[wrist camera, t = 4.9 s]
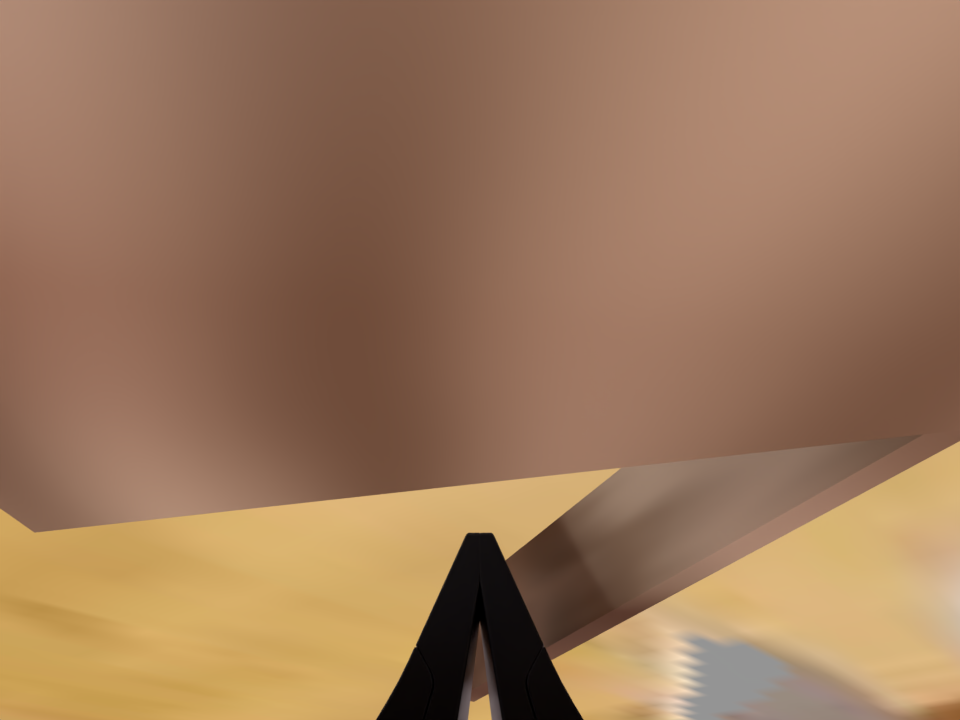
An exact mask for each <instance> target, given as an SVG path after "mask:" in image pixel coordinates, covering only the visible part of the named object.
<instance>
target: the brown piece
mask: <svg viewBox="0 0 960 720" xmlns="http://www.w3.org/2000/svg"><path fill="white" fill-rule="evenodd" d="M959 430H960V0H0V509H2V510H3V511H4V512H6V513H7V514H9V515H10V516H12V517H13V518H14V519H16V520H17V521H19V522H20V523H21V524H23V525H24V526H26V527H27V528H29V529H30V530H31V531H33V532H34V533H36V532H45V531H54V530H63V529H72V528H81V527H90V526H100V525H109V524H118V523H127V522H136V521H145V520H154V519H163V518H172V517H181V516H190V515H199V514H208V513H217V512H226V511H235V510H244V509H253V508H262V507H271V506H280V505H289V504H298V503H307V502H317V501H326V500H335V499H344V498H353V497H362V496H371V495H380V494H389V493H398V492H407V491H416V490H425V489H434V488H443V487H452V486H461V485H470V484H479V483H488V482H497V481H506V480H515V479H525V478H534V477H543V476H552V475H561V474H570V473H579V472H588V471H597V470H606V469H615V468H624V467H633V466H642V465H651V464H660V463H669V462H678V461H687V460H696V459H705V458H714V457H723V456H732V455H742V454H751V453H760V452H769V451H778V450H787V449H796V448H805V447H814V446H823V445H832V444H841V443H850V442H859V441H868V440H877V439H886V438H895V437H904V436H913V435H922V434H931V433H940V432H950V431H959Z"/></svg>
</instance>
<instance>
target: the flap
mask: <svg viewBox="0 0 960 720" xmlns="http://www.w3.org/2000/svg"><path fill="white" fill-rule="evenodd" d="M959 441H960V430H959V431H950V432H940V433H931V434H922V435H913V436H904V437H895V438H886V439H877V440H868V441H859V442H850V443H841V444H832V445H823V446H814V447H805V448H796V449H787V450H778V451H769V452H760V453H751V454H742V455H732V456H723V457H714V458H705V459H696V460H687V461H678V462H669V463H660V464H651V465H642V466H633V467H624V468H620V469H619V470H618V471H617V472H615V473H614V474H613V475H612V476H610V477H609V478H608V479H607V480H605V481H604V482H603V483H602V484H600V485H599V486H598V487H597V488H595V489H594V490H593V491H592V492H590V493H589V494H588V495H587V496H585V497H584V498H583V499H582V500H580V501H579V502H578V503H577V504H575V505H574V506H573V507H572V508H570V509H569V510H568V511H567V512H565V513H564V514H563V515H562V516H560V517H559V518H558V519H557V520H555V521H554V522H553V523H552V524H550V525H549V526H548V527H547V528H545V529H544V530H543V531H542V532H540V533H539V534H538V535H537V536H535V537H534V538H533V539H532V540H530V541H529V542H528V543H527V544H525V545H524V546H523V547H522V548H520V549H519V550H518V551H516V552H515V553H514V554H513V555H511V556H510V557H509V558H508V559H506V563H507V565H508V567H509V569H510V571H511V574H512V576H513V578H514V580H515V582H516V585H517V587H518V589H519V591H520V593H521V596H522V598H523V600H524V602H525V604H526V607H527V609H528V611H529V613H530V615H531V618H532V620H533V622H534V624H535V626H536V629H537V631H538V633H539V635H540V637H541V640H542V642H543V644H544V647H545V648H546V650H547V652H548V654H549V657H550V659H551V660H553V659H555V658H557V657H559V656H560V655H562V654H564V653H566V652H568V651H570V650H572V649H573V648H575V647H577V646H579V645H581V644H583V643H585V642H586V641H588V640H590V639H592V638H594V637H596V636H598V635H600V634H601V633H603V632H605V631H607V630H609V629H611V628H613V627H614V626H616V625H618V624H620V623H622V622H624V621H626V620H627V619H629V618H631V617H633V616H635V615H637V614H639V613H641V612H642V611H644V610H646V609H648V608H650V607H652V606H654V605H655V604H657V603H659V602H661V601H663V600H665V599H667V598H668V597H670V596H672V595H674V594H676V593H678V592H680V591H682V590H683V589H685V588H687V587H689V586H691V585H693V584H695V583H696V582H698V581H700V580H702V579H704V578H706V577H708V576H709V575H711V574H713V573H715V572H717V571H719V570H721V569H723V568H724V567H726V566H728V565H730V564H732V563H734V562H736V561H737V560H739V559H741V558H743V557H745V556H747V555H749V554H750V553H752V552H754V551H756V550H758V549H760V548H762V547H764V546H765V545H767V544H769V543H771V542H773V541H775V540H777V539H778V538H780V537H782V536H784V535H786V534H788V533H790V532H791V531H793V530H795V529H797V528H799V527H801V526H803V525H805V524H806V523H808V522H810V521H812V520H814V519H816V518H818V517H819V516H821V515H823V514H825V513H827V512H829V511H831V510H832V509H834V508H836V507H838V506H840V505H842V504H844V503H846V502H847V501H849V500H851V499H853V498H855V497H857V496H859V495H860V494H862V493H864V492H866V491H868V490H870V489H872V488H873V487H875V486H877V485H879V484H881V483H883V482H885V481H887V480H888V479H890V478H892V477H894V476H896V475H898V474H900V473H901V472H903V471H905V470H907V469H909V468H911V467H913V466H914V465H916V464H918V463H920V462H922V461H924V460H926V459H928V458H929V457H931V456H933V455H935V454H937V453H939V452H941V451H942V450H944V449H946V448H948V447H950V446H952V445H954V444H955V443H957V442H959ZM488 694H489V693H488V685H487V676H486V668H485V660H484V651H483V643H482V635H481V626H480V624H479V632H478V641H477V649H476V657H475V666H474V674H473V682H472V691H471V699H470V701H472V702H475V701H477V700H478V699H480V698H482V697H484V696H486V695H488Z"/></svg>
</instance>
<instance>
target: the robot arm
mask: <svg viewBox="0 0 960 720" xmlns="http://www.w3.org/2000/svg"><path fill="white" fill-rule="evenodd" d="M479 624H480V626H481V635H482V643H483V651H484V660H485V668H486V676H487V685H488V693H489V701H490V710H491V718H492V720H584V719H583V718H582V716H581V714H580V713H579V711H578V709H577V708H576V706H575V704H574V703H573V701H572V699H571V697H570V696H569V694H568V692H567V690H566V688H565V687H564V685H563V683H562V681H561V679H560V677H559V675H558V673H557V671H556V669H555V667H554V665H553V663H552V661H551V659H550V657H549V654H548V652H547V650H546V648H545V647H544V644H543V642H542V640H541V637H540V635H539V633H538V631H537V629H536V626H535V624H534V622H533V620H532V618H531V615H530V613H529V611H528V609H527V607H526V604H525V602H524V600H523V598H522V596H521V593H520V591H519V589H518V587H517V585H516V582H515V580H514V578H513V576H512V574H511V571H510V569H509V567H508V565H507V563H506V560H505V558H504V556H503V554H502V552H501V549H500V547H499V545H498V543H497V541H496V538H495V536H494V534H493V533H467V534H466V536H465V538H464V540H463V542H462V544H461V547H460V549H459V551H458V553H457V555H456V558H455V560H454V562H453V564H452V566H451V569H450V571H449V573H448V575H447V577H446V580H445V582H444V584H443V586H442V588H441V591H440V593H439V595H438V597H437V599H436V602H435V604H434V606H433V608H432V610H431V613H430V615H429V617H428V619H427V621H426V624H425V626H424V628H423V630H422V632H421V635H420V637H419V639H418V641H417V643H416V647H414V649H413V651H412V654H411V656H410V658H409V660H408V662H407V664H406V666H405V668H404V670H403V672H402V674H401V676H400V678H399V681H398V682H397V684H396V686H395V688H394V689H393V691H392V693H391V695H390V697H389V698H388V700H387V702H386V704H385V705H384V707H383V709H382V710H381V712H380V714H379V715H378V717H377V719H376V720H468V716H469V707H470V699H471V691H472V682H473V674H474V666H475V657H476V649H477V641H478V632H479Z"/></svg>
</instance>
